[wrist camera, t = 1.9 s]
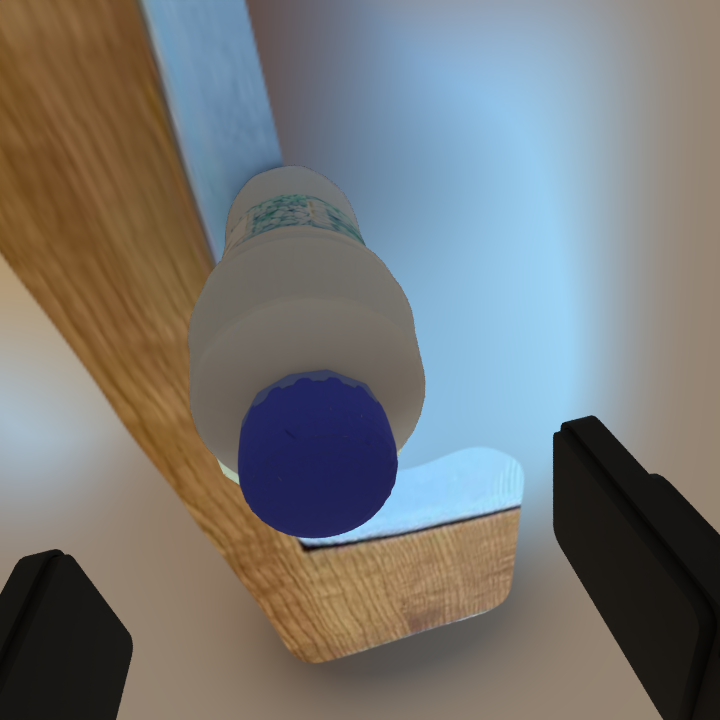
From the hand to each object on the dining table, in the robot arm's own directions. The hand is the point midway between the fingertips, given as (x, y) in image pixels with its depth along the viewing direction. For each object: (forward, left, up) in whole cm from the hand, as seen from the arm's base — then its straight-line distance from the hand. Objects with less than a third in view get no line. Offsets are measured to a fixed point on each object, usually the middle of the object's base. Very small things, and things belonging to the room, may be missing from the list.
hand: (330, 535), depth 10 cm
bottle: (-1, 0, -21) cm, 21 cm away
